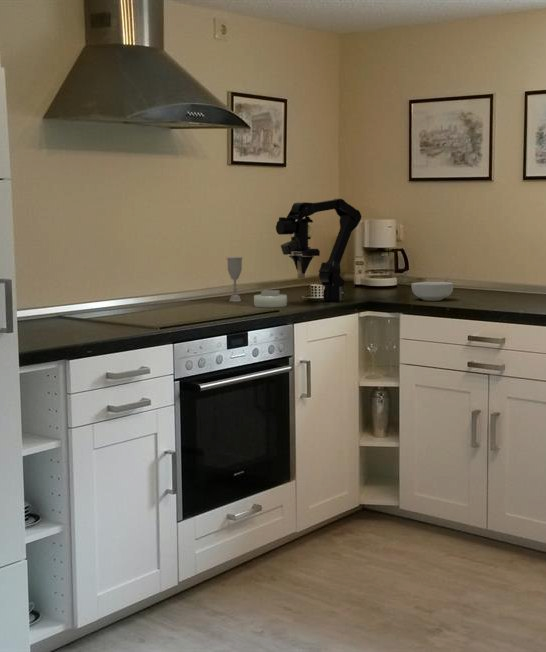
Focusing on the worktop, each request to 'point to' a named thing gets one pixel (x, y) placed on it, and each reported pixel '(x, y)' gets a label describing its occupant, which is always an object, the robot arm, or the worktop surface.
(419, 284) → the cereal bowl
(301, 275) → the dowel
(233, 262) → the chalice
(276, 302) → the disc with square recess
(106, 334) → the worktop surface
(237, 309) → the worktop surface
